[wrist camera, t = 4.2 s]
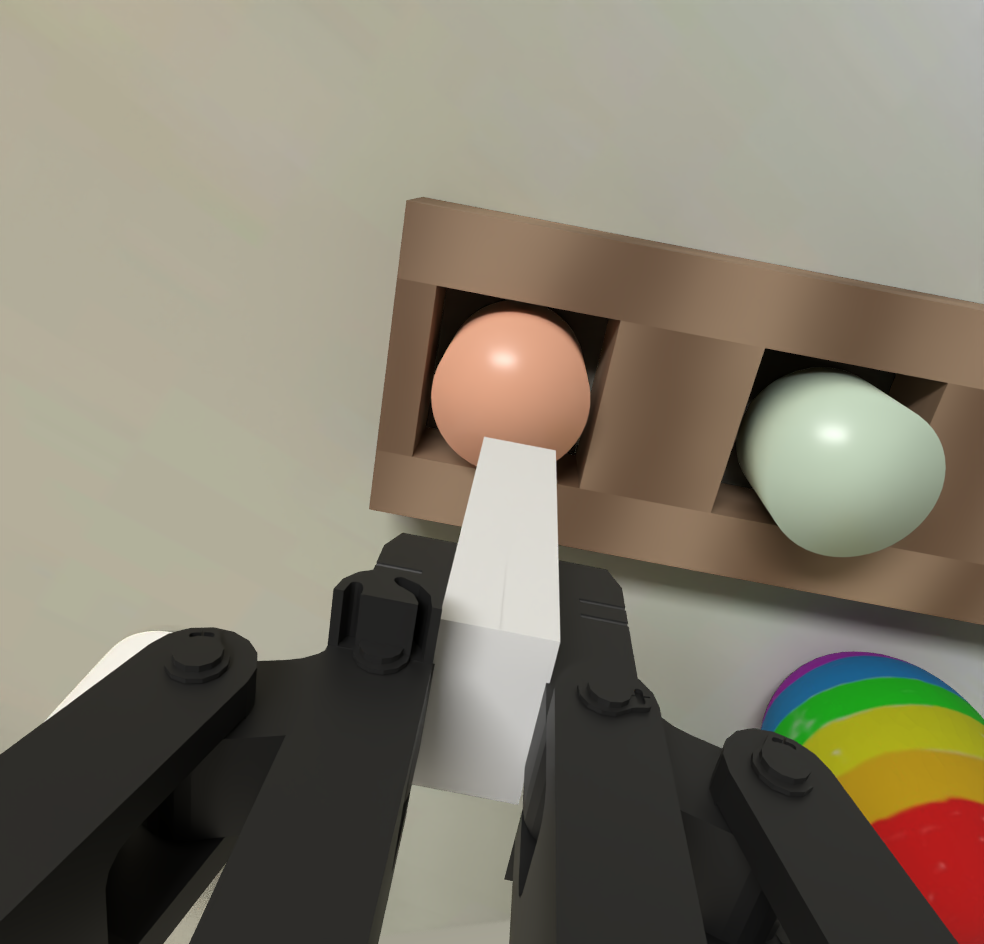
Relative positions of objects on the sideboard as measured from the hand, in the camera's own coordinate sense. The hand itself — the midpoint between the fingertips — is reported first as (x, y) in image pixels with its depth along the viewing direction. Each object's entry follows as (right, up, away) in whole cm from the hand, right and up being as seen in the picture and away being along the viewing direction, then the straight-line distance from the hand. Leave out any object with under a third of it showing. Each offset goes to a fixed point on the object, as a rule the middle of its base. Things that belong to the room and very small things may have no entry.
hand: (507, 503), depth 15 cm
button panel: (+10, +2, +10) cm, 15 cm away
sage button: (+10, +2, +9) cm, 14 cm away
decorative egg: (+14, -9, +15) cm, 23 cm away
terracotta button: (0, +4, +10) cm, 11 cm away
